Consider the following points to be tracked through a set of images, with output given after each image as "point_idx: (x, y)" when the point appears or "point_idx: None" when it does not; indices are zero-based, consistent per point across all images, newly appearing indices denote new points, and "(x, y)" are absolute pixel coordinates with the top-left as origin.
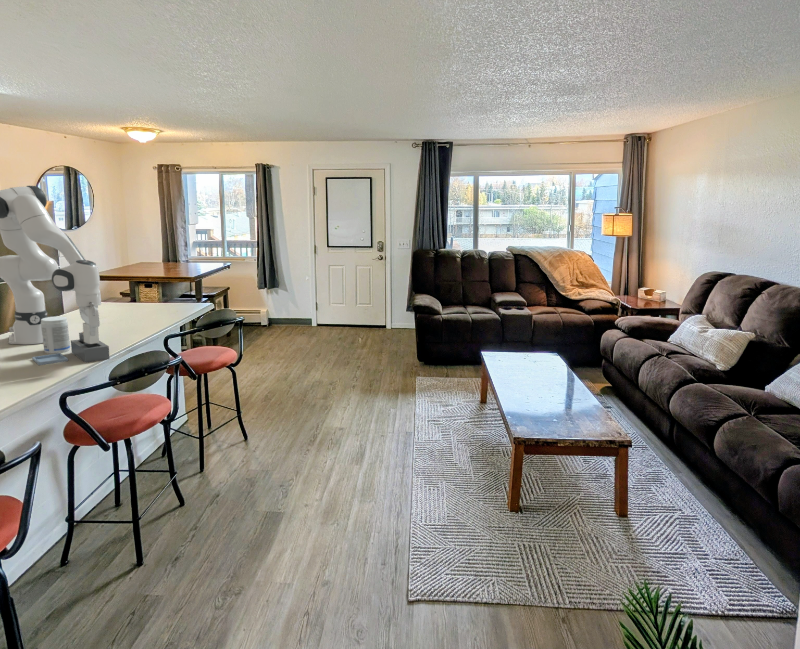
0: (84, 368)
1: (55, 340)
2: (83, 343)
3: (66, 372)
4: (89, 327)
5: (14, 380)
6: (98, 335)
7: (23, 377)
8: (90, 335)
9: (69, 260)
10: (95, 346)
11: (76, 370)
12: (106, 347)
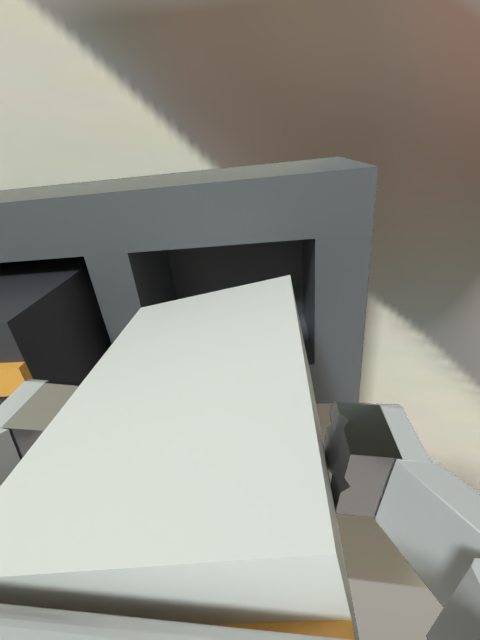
0: (440, 357)
1: None
2: (100, 356)
3: (446, 439)
4: (437, 636)
5: (406, 571)
6: (296, 322)
7: (386, 550)
8: (322, 439)
9: None
10: (144, 254)
11: (448, 398)
12: (370, 195)
